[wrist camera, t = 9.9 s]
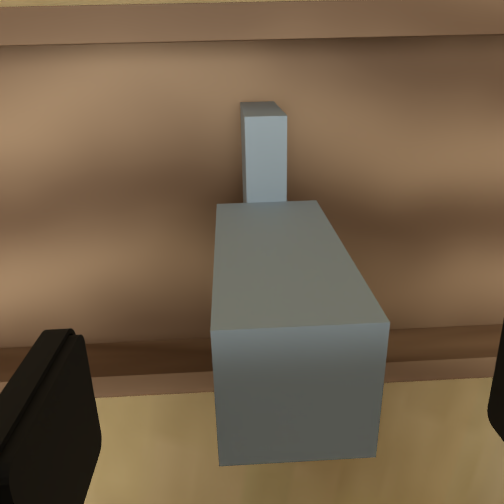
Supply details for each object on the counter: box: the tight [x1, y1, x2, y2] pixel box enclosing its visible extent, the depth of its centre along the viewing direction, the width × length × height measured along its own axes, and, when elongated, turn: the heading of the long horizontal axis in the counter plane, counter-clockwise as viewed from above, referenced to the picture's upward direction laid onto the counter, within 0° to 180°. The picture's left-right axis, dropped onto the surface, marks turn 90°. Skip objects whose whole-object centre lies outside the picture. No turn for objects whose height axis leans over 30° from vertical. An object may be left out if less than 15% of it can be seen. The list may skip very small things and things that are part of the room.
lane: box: [0, 0, 504, 398], centre depth 17 cm, size 14×50×6 cm, turn 91°
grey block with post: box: [210, 101, 390, 466], centre depth 14 cm, size 8×3×11 cm, turn 1°
